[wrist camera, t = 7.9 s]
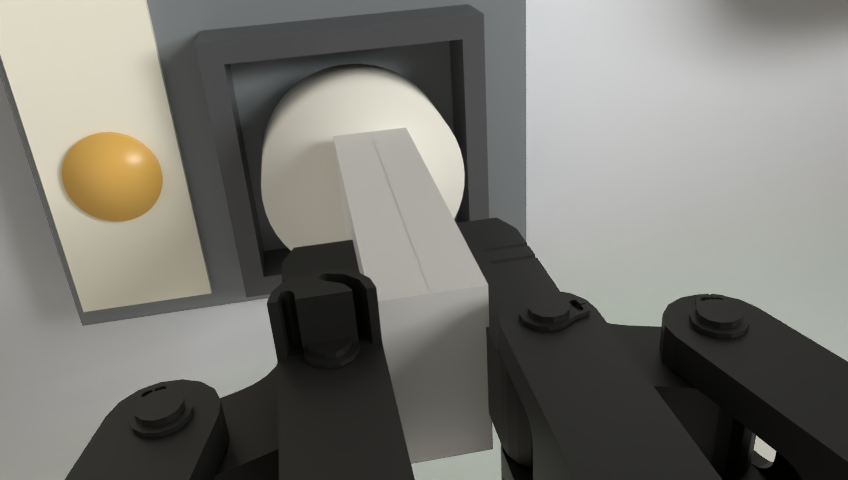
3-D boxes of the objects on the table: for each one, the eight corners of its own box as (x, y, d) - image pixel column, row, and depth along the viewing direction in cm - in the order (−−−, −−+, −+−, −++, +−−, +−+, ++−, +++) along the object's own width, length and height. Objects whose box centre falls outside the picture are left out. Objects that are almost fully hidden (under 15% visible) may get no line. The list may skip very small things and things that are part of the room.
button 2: (440, 53, 17) (460, 74, 15) (449, 225, 19) (468, 261, 17) (247, 74, 16) (243, 98, 15) (277, 249, 18) (277, 289, 17)
